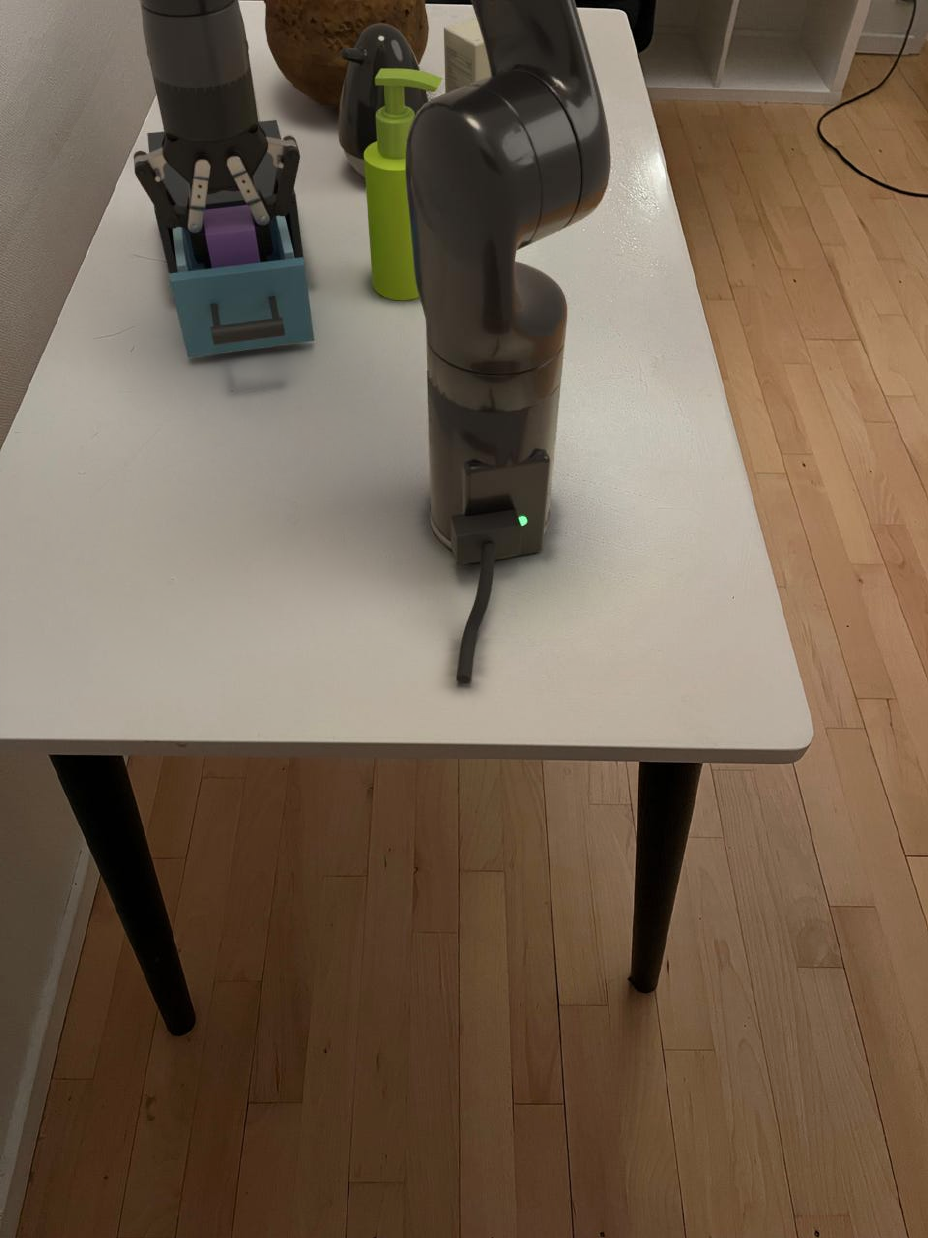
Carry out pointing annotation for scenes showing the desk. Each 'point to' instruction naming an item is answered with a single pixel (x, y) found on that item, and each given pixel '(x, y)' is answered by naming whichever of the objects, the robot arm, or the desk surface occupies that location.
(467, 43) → the cosmetic box
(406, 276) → the soap dispenser
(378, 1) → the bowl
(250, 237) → the lilac foam cube
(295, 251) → the dark grey box
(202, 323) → the drawer
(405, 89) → the black penguin figurine
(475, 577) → the desk surface
